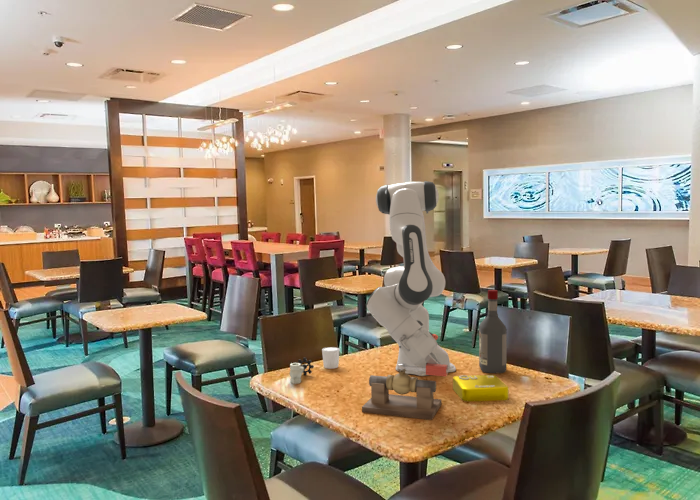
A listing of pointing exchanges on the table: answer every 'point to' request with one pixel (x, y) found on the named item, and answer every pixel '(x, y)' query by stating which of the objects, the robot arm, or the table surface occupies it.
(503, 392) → the element tile
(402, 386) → the valve stand
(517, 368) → the table surface
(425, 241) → the robot arm
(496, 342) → the liquor
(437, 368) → the valve lever
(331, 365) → the white cylinder
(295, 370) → the valve
